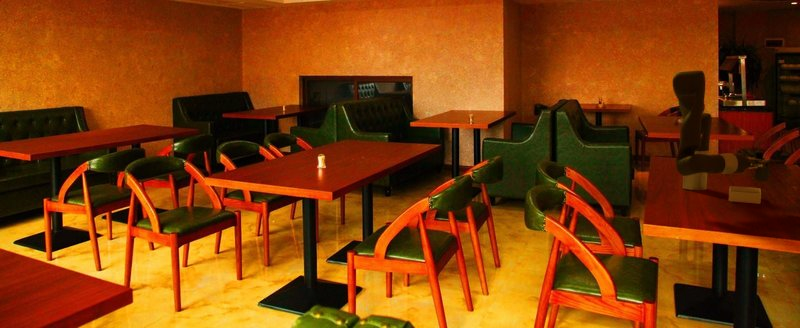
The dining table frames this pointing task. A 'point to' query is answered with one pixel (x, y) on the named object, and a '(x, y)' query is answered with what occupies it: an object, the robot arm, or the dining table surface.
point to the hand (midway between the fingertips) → (768, 161)
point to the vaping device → (761, 173)
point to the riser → (744, 194)
